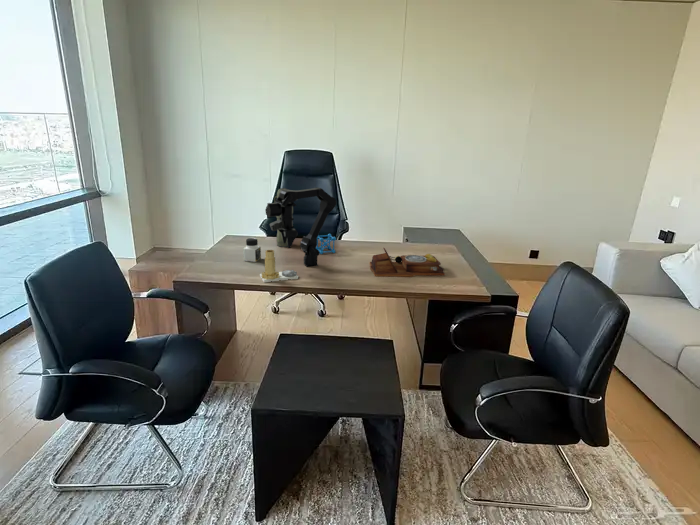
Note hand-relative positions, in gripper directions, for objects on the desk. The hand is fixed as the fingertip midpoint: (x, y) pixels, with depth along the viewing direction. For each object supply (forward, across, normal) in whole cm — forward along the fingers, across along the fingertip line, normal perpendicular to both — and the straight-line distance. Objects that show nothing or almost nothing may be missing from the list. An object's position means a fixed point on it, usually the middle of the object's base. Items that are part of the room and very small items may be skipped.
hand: (286, 245), depth 213 cm
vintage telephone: (+14, +18, +61) cm, 65 cm away
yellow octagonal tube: (+12, +11, -11) cm, 20 cm away
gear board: (+13, +10, -7) cm, 18 cm away
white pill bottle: (+13, -21, -14) cm, 28 cm away
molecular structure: (+13, -24, +30) cm, 41 cm away
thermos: (+13, -44, +10) cm, 47 cm away
